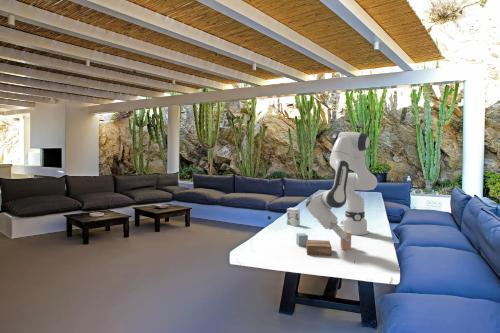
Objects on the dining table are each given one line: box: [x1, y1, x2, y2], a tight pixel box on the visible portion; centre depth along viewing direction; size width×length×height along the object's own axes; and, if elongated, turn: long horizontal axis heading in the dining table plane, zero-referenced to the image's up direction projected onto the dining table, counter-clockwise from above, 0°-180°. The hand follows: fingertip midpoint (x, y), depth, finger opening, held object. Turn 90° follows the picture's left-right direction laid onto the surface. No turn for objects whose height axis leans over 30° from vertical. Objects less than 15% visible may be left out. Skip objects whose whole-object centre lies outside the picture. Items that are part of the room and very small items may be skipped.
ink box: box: [286, 207, 301, 227], centre depth 243 cm, size 9×5×12 cm, turn 37°
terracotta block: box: [340, 231, 352, 251], centre depth 185 cm, size 4×4×9 cm
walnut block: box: [305, 239, 333, 257], centre depth 177 cm, size 12×12×5 cm
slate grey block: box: [295, 232, 309, 247], centre depth 190 cm, size 5×5×6 cm
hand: (347, 239), depth 185 cm, fingers closed on terracotta block, 4 cm apart
